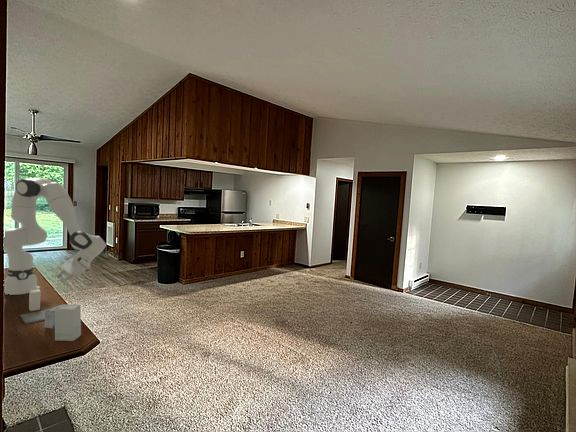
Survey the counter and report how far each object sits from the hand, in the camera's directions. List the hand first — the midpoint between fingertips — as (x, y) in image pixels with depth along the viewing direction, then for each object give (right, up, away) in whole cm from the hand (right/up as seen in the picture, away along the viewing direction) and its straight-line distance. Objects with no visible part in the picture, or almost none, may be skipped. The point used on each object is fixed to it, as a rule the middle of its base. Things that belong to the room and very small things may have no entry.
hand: (60, 279), depth 174 cm
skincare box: (+29, -20, -35) cm, 49 cm away
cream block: (-8, -14, -8) cm, 18 cm away
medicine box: (+15, -18, -23) cm, 33 cm away
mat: (+2, -16, -16) cm, 22 cm away
